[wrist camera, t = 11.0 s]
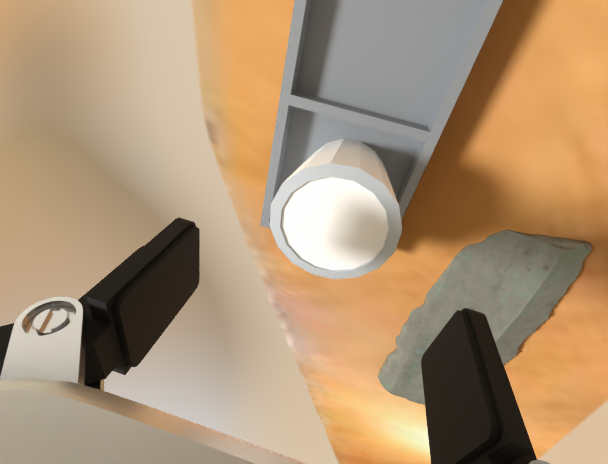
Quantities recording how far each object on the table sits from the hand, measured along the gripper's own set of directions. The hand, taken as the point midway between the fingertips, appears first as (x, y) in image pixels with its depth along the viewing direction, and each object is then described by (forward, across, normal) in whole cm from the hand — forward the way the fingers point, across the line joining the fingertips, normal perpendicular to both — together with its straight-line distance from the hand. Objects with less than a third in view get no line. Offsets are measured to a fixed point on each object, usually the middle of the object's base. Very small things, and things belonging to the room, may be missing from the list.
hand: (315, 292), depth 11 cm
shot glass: (+12, 0, +1) cm, 12 cm away
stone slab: (+14, -14, +12) cm, 23 cm away
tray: (+13, 0, -4) cm, 14 cm away
